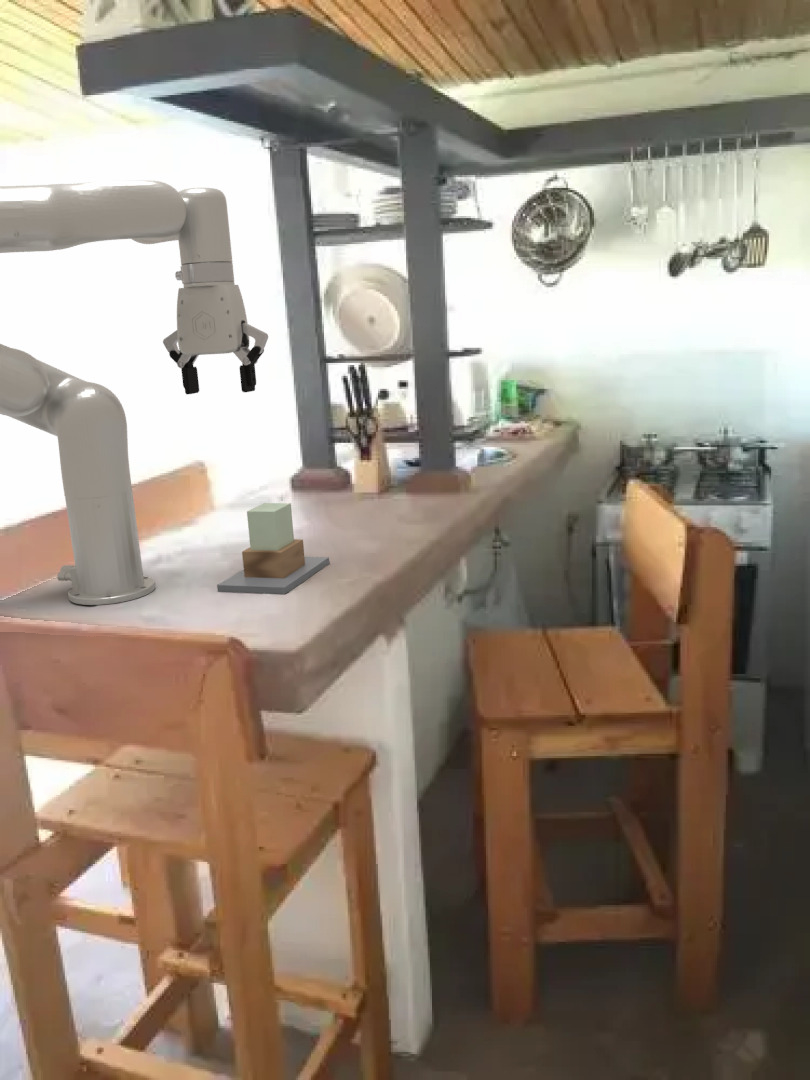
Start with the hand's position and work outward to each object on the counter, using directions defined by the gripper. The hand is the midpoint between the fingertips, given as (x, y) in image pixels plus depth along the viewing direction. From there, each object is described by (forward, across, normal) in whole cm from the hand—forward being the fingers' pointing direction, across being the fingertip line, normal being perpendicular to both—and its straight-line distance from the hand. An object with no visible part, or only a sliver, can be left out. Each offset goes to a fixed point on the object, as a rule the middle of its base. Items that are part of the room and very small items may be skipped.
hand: (220, 392), depth 144 cm
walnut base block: (+28, +8, -3) cm, 30 cm away
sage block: (+23, +8, -3) cm, 25 cm away
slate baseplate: (+28, +8, -3) cm, 30 cm away
